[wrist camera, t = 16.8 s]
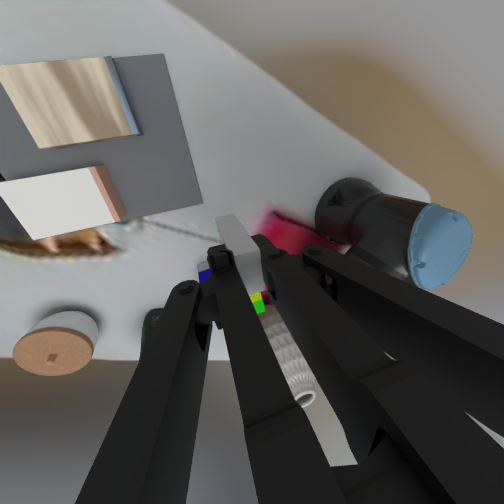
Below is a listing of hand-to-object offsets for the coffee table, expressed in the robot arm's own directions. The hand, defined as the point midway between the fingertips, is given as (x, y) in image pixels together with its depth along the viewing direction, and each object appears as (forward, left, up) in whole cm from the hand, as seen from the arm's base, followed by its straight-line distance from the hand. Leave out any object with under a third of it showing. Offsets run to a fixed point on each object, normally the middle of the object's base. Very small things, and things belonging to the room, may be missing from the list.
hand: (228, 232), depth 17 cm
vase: (-7, +36, -25) cm, 44 cm away
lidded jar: (+32, +21, -25) cm, 46 cm away
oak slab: (+7, -13, -22) cm, 27 cm away
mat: (+14, -8, -24) cm, 29 cm away
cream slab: (+14, -2, -22) cm, 26 cm away
